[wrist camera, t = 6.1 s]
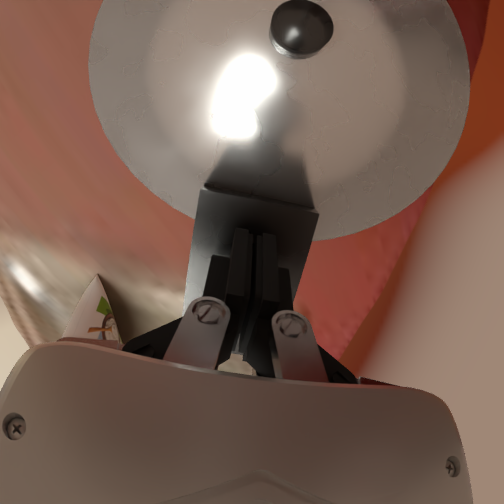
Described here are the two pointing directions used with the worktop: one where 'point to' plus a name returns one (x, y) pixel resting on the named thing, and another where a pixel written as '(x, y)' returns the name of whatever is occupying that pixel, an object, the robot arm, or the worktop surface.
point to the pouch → (93, 316)
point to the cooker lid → (280, 113)
